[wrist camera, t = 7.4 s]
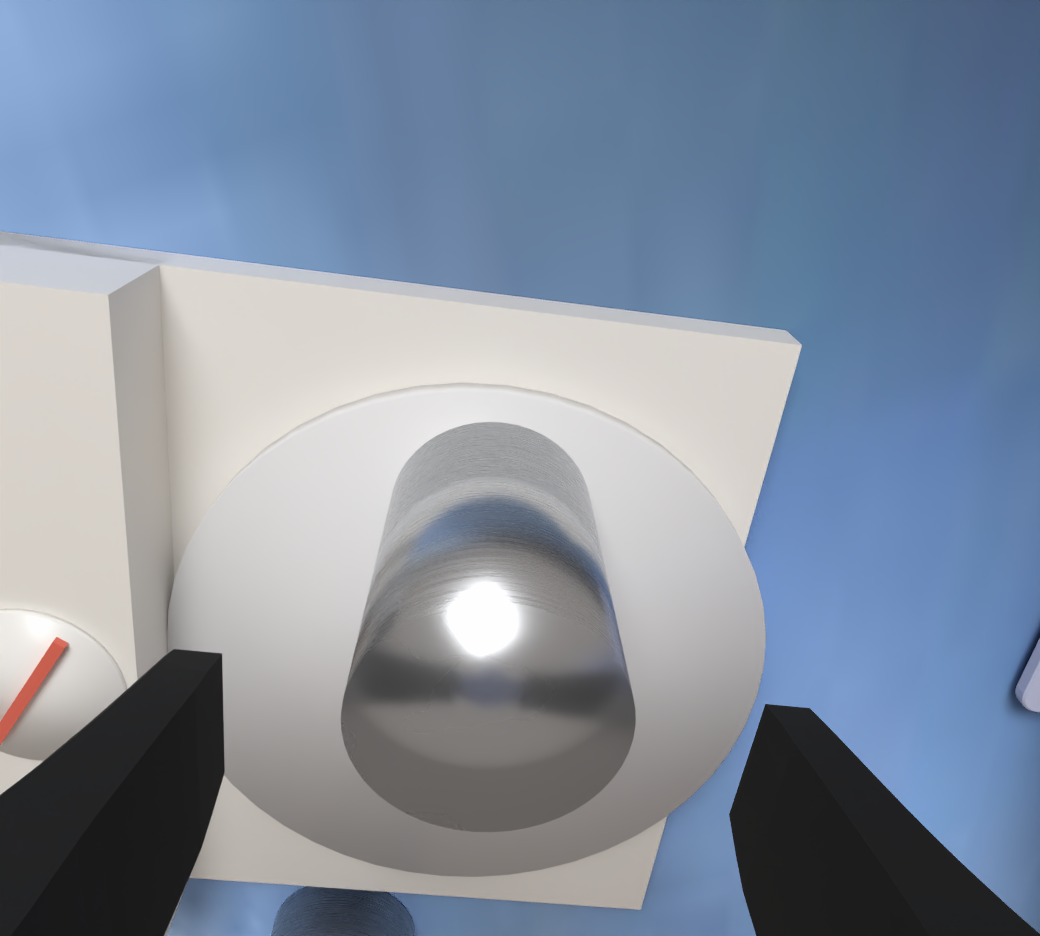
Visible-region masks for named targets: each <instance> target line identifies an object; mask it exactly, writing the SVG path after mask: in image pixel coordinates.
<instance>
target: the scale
mask: <svg viewBox="0 0 1040 936" xmlns="http://www.w3.org/2000/svg"><path fill="white" fill-rule="evenodd" d="M801 347H802V345H801V344H800V343H799V342H798V341H797V340H796V339H795V338H794V337H793V336H791V335H790V334H789V333H788V332H787V331H786V330H779V329H771V328H763V327H755V326H747V325H739V324H731V323H724V322H716V321H708V320H700V319H692V318H684V317H676V316H668V315H660V314H652V313H644V312H637V311H629V310H621V309H613V308H605V307H597V306H589V305H581V304H573V303H565V302H557V301H549V300H542V299H534V298H526V297H518V296H510V295H502V294H494V293H486V292H478V291H470V290H462V289H454V288H447V287H439V286H431V285H423V284H415V283H407V282H399V281H391V280H383V279H375V278H367V277H359V276H352V275H344V274H336V273H328V272H320V271H312V270H304V269H296V268H288V267H280V266H272V265H264V264H257V263H249V262H241V261H233V260H225V259H217V258H209V257H201V256H193V255H185V254H177V253H169V252H162V251H154V250H146V249H138V248H130V247H122V246H114V245H106V244H98V243H90V242H82V241H74V240H67V239H59V238H51V237H43V236H35V235H27V234H19V233H11V232H3V231H0V795H1V794H2V793H3V792H5V791H6V790H7V789H8V788H10V787H11V786H12V785H14V784H15V783H16V782H18V781H19V780H20V779H21V778H23V777H24V776H25V775H27V774H28V773H29V772H31V771H32V770H33V769H34V768H35V767H37V766H38V765H39V764H40V763H42V762H43V761H44V760H45V759H47V758H48V757H49V756H50V755H51V754H52V753H54V752H55V751H56V750H57V749H58V748H60V747H61V746H62V745H63V744H64V743H66V742H67V741H68V740H69V739H70V738H72V737H73V736H74V735H75V734H76V733H78V732H79V731H80V730H81V729H82V728H84V727H85V726H86V725H87V724H88V723H89V722H91V721H92V720H93V719H94V718H95V717H96V716H98V715H99V714H100V713H101V712H102V711H103V710H104V709H106V708H107V707H108V706H109V705H110V704H111V703H112V702H113V701H115V700H116V699H117V698H118V697H119V696H120V695H121V694H123V693H124V692H125V691H126V690H127V689H128V688H129V687H130V686H131V685H133V684H134V683H135V682H136V681H137V680H138V679H139V678H140V677H141V676H143V675H144V674H145V673H146V672H147V671H148V670H149V669H150V668H151V667H153V666H154V665H155V664H156V663H157V662H158V661H159V660H161V659H162V658H163V657H164V656H165V655H166V654H168V653H169V652H170V651H172V650H173V649H180V650H191V651H201V652H212V653H222V672H223V719H224V765H225V773H224V776H223V780H222V783H221V786H220V790H219V793H218V797H217V800H216V803H215V807H214V810H213V813H212V817H211V820H210V823H209V826H208V829H207V833H206V836H205V839H204V842H203V845H202V848H201V851H200V853H199V856H198V858H197V860H196V863H195V865H194V867H193V870H192V872H191V874H190V877H189V878H199V879H213V880H227V881H241V882H256V883H270V884H284V885H298V886H312V887H326V888H340V889H355V890H369V891H383V892H397V893H411V894H425V895H440V896H454V897H468V898H482V899H496V900H510V901H525V902H539V903H553V904H567V905H581V906H595V907H610V908H624V909H638V910H641V907H642V903H643V900H644V896H645V893H646V889H647V886H648V882H649V879H650V875H651V872H652V868H653V865H654V861H655V858H656V854H657V851H658V847H659V844H660V840H661V837H662V833H663V830H664V826H665V823H666V819H667V816H668V815H669V814H670V813H671V812H673V811H674V810H675V809H676V808H678V807H679V806H680V805H682V804H683V803H684V802H685V801H687V800H688V799H689V798H690V797H691V796H692V795H693V794H694V793H695V792H696V791H697V790H698V789H699V788H700V787H701V786H702V785H703V784H704V783H705V782H706V781H707V780H708V779H709V778H710V777H711V776H712V774H713V773H714V772H715V771H716V769H717V768H718V767H719V765H720V764H721V763H722V762H723V760H724V759H725V758H726V757H727V755H728V754H729V753H730V751H731V749H732V747H733V746H734V744H735V742H736V741H737V739H738V737H739V735H740V734H741V732H742V730H743V729H744V727H745V725H746V722H747V720H748V717H749V715H750V712H751V710H752V707H753V705H754V702H755V700H756V697H757V693H758V689H759V685H760V680H761V676H762V672H763V668H764V655H765V642H766V632H765V620H764V609H763V602H762V598H761V594H760V590H759V586H758V582H757V579H756V575H755V571H754V569H753V567H752V565H751V562H750V560H749V558H748V555H747V553H746V551H745V549H744V546H745V543H746V539H747V536H748V532H749V529H750V525H751V522H752V518H753V515H754V511H755V508H756V504H757V501H758V497H759V494H760V490H761V487H762V483H763V480H764V476H765V473H766V469H767V466H768V462H769V459H770V455H771V452H772V448H773V445H774V441H775V438H776V434H777V431H778V427H779V424H780V420H781V417H782V413H783V410H784V406H785V403H786V399H787V396H788V392H789V389H790V385H791V382H792V378H793V375H794V371H795V368H796V364H797V361H798V357H799V354H800V350H801ZM479 422H503V423H509V424H515V425H519V426H522V427H525V428H529V429H531V430H533V431H536V432H538V433H540V434H542V435H544V436H546V437H547V438H549V439H551V440H552V441H554V442H555V443H556V444H557V445H559V446H560V447H561V448H562V449H563V450H564V451H565V452H566V453H567V454H568V455H569V456H570V457H571V458H572V459H573V461H574V462H575V464H576V465H577V466H578V468H579V469H580V471H581V473H582V475H583V477H584V479H585V482H586V485H587V488H588V491H589V496H590V501H591V505H592V510H593V514H594V519H595V524H596V528H597V533H598V537H599V542H600V546H601V551H602V556H603V560H604V565H605V569H606V574H607V579H608V583H609V588H610V592H611V597H612V601H613V606H614V611H615V615H616V620H617V624H618V629H619V634H620V638H621V643H622V647H623V652H624V656H625V661H626V666H627V670H628V675H629V679H630V684H631V689H632V693H633V698H634V704H635V709H636V725H635V731H634V738H633V741H632V744H631V747H630V750H629V753H628V755H627V757H626V759H625V761H624V763H623V765H622V767H621V768H620V769H619V771H618V772H617V774H616V775H615V776H614V778H613V779H612V780H611V781H610V782H609V783H608V785H607V786H606V787H605V788H604V789H603V790H602V791H601V792H599V793H598V794H597V795H596V796H595V797H593V798H592V799H591V800H590V801H588V802H587V803H585V804H584V805H582V806H581V807H579V808H578V809H576V810H574V811H572V812H570V813H568V814H566V815H564V816H562V817H560V818H558V819H555V820H552V821H550V822H547V823H544V824H541V825H537V826H533V827H529V828H525V829H519V830H513V831H504V832H470V831H462V830H454V829H450V828H445V827H441V826H437V825H434V824H431V823H428V822H424V821H421V820H419V819H417V818H415V817H412V816H410V815H408V814H406V813H404V812H402V811H401V810H399V809H397V808H395V807H394V806H392V805H391V804H389V803H388V802H387V801H385V800H384V799H383V798H381V797H380V796H379V795H378V794H376V793H375V792H374V791H373V790H372V789H371V788H370V787H369V786H368V785H367V784H366V782H365V781H364V780H363V779H362V777H361V776H360V775H359V774H358V772H357V771H356V769H355V767H354V765H353V764H352V762H351V760H350V758H349V756H348V753H347V751H346V748H345V745H344V741H343V736H342V731H341V709H342V702H343V697H344V693H345V689H346V685H347V680H348V676H349V672H350V668H351V664H352V659H353V655H354V651H355V647H356V643H357V638H358V634H359V630H360V626H361V622H362V617H363V613H364V609H365V605H366V600H367V596H368V592H369V588H370V584H371V579H372V575H373V571H374V567H375V563H376V558H377V554H378V550H379V546H380V542H381V537H382V533H383V529H384V525H385V521H386V516H387V512H388V508H389V504H390V500H391V495H392V492H393V488H394V485H395V482H396V480H397V477H398V475H399V473H400V471H401V469H402V468H403V466H404V465H405V463H406V462H407V460H408V459H409V458H410V457H411V456H412V455H413V454H414V453H415V451H416V450H418V449H419V448H420V447H421V446H422V445H424V444H425V443H426V442H427V441H429V440H431V439H432V438H434V437H435V436H437V435H439V434H441V433H443V432H445V431H447V430H450V429H453V428H456V427H459V426H462V425H467V424H472V423H479ZM187 882H188V881H187ZM186 885H187V884H186ZM185 887H186V886H185ZM184 890H185V888H184ZM183 892H184V891H183ZM182 895H183V893H182ZM182 895H181V898H182ZM181 898H180V900H181ZM180 900H179V902H178V905H177V907H176V909H175V911H174V914H173V916H172V918H171V921H170V923H169V925H168V927H167V930H166V932H165V934H164V936H167V935H168V932H169V929H170V927H171V924H172V921H173V919H174V916H175V914H176V911H177V908H178V906H179V903H180Z"/></svg>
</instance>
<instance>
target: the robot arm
mask: <svg viewBox="0 0 1040 936" xmlns="http://www.w3.org/2000/svg"><path fill="white" fill-rule="evenodd" d="M1015 694H1016V697H1017V699H1018V700H1019V701H1020V702H1021V704H1022V705H1023V706H1024V707H1025V708H1026V709H1028V710H1030V711H1034V712H1040V639H1039V641H1038V643H1037V645H1036V647H1035V649H1034V651H1033V653H1032V655H1031V657H1030V659H1029V661H1028V663H1027V665H1026V668H1025V670H1024V672H1023V674H1022V676H1021V678H1020V680H1019V682H1018V684H1017V686H1016V690H1015ZM224 773H225V765H224V719H223V672H222V653H212V652H201V651H191V650H180V649H173V650H172V651H170V652H169V653H168V654H166V655H165V656H164V657H163V658H162V659H161V660H159V661H158V662H157V663H156V664H155V665H154V666H153V667H151V668H150V669H149V670H148V671H147V672H146V673H145V674H144V675H143V676H141V677H140V678H139V679H138V680H137V681H136V682H135V683H134V684H133V685H131V686H130V687H129V688H128V689H127V690H126V691H125V692H124V693H123V694H121V695H120V696H119V697H118V698H117V699H116V700H115V701H113V702H112V703H111V704H110V705H109V706H108V707H107V708H106V709H104V710H103V711H102V712H101V713H100V714H99V715H98V716H96V717H95V718H94V719H93V720H92V721H91V722H89V723H88V724H87V725H86V726H85V727H84V728H82V729H81V730H80V731H79V732H78V733H76V734H75V735H74V736H73V737H72V738H70V739H69V740H68V741H67V742H66V743H64V744H63V745H62V746H61V747H60V748H58V749H57V750H56V751H55V752H54V753H52V754H51V755H50V756H49V757H48V758H47V759H45V760H44V761H43V762H42V763H40V764H39V765H38V766H37V767H35V768H34V769H33V770H32V771H31V772H29V773H28V774H27V775H25V776H24V777H23V778H21V779H20V780H19V781H18V782H16V783H15V784H14V785H12V786H11V787H10V788H8V789H7V790H6V791H5V792H3V793H2V794H1V795H0V936H164V934H165V932H166V930H167V927H168V925H169V923H170V921H171V918H172V916H173V914H174V911H175V909H176V907H177V905H178V902H179V900H180V898H181V895H182V893H183V891H184V888H185V886H186V884H187V881H188V879H189V877H190V874H191V872H192V870H193V867H194V865H195V863H196V860H197V858H198V856H199V853H200V851H201V848H202V845H203V842H204V839H205V836H206V833H207V829H208V826H209V823H210V820H211V817H212V813H213V810H214V807H215V803H216V800H217V797H218V793H219V790H220V786H221V783H222V780H223V776H224ZM729 815H730V821H731V827H732V833H733V839H734V845H735V851H736V857H737V862H738V868H739V873H740V878H741V883H742V888H743V892H744V896H745V899H746V903H747V906H748V909H749V913H750V916H751V919H752V923H753V926H754V929H755V932H756V936H1040V934H1039V933H1038V932H1037V931H1036V930H1035V929H1033V928H1032V927H1031V926H1030V925H1029V924H1028V923H1027V922H1025V921H1024V920H1023V919H1022V918H1021V917H1020V916H1018V915H1017V914H1016V913H1015V912H1014V911H1013V910H1012V909H1011V908H1009V907H1008V906H1007V905H1006V904H1005V903H1004V902H1003V901H1002V900H1001V899H1000V898H999V897H997V896H996V895H995V894H994V893H993V892H992V891H991V890H990V889H989V888H988V887H987V886H986V885H985V884H983V883H982V882H981V881H980V880H979V879H978V878H977V877H976V876H975V875H974V874H973V873H972V872H970V871H969V870H968V869H967V868H966V867H965V866H964V865H963V864H962V863H961V862H960V861H959V860H958V859H957V858H956V857H955V856H954V855H953V854H952V853H951V852H950V851H948V850H947V849H946V848H945V847H944V846H943V845H942V844H941V843H940V842H939V841H938V840H937V839H936V838H935V837H934V836H933V835H932V834H931V833H930V832H929V831H928V830H927V829H926V828H925V827H924V826H923V825H922V824H921V823H920V822H919V821H918V820H917V819H916V818H915V817H914V816H913V815H912V814H911V813H910V812H909V811H908V810H907V809H906V808H905V807H904V806H903V805H902V804H901V802H900V801H899V800H898V799H897V798H896V797H895V796H894V795H893V794H892V793H891V792H890V791H889V790H888V789H887V788H886V787H885V786H884V785H883V784H882V783H881V782H880V781H879V780H878V779H877V778H876V776H875V775H874V774H873V773H872V772H871V771H870V770H869V769H868V768H867V767H866V766H865V765H864V764H863V763H862V762H861V761H860V760H859V759H858V758H857V756H856V755H855V754H854V753H853V752H852V751H851V750H850V749H849V748H848V747H847V746H846V745H845V744H844V743H843V742H842V741H841V740H840V739H839V738H838V737H837V735H836V734H835V733H834V732H833V731H832V730H831V729H830V728H829V727H828V726H827V725H826V724H825V723H824V722H823V721H822V720H821V719H820V718H819V717H818V716H817V715H816V714H815V713H814V712H813V711H812V710H811V709H810V708H801V707H790V706H779V705H769V704H765V707H764V710H763V714H762V717H761V720H760V723H759V726H758V729H757V732H756V735H755V738H754V741H753V744H752V747H751V750H750V753H749V756H748V759H747V762H746V765H745V768H744V771H743V774H742V777H741V781H740V784H739V787H738V790H737V793H736V796H735V799H734V802H733V805H732V808H731V811H730V814H729Z"/></svg>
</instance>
